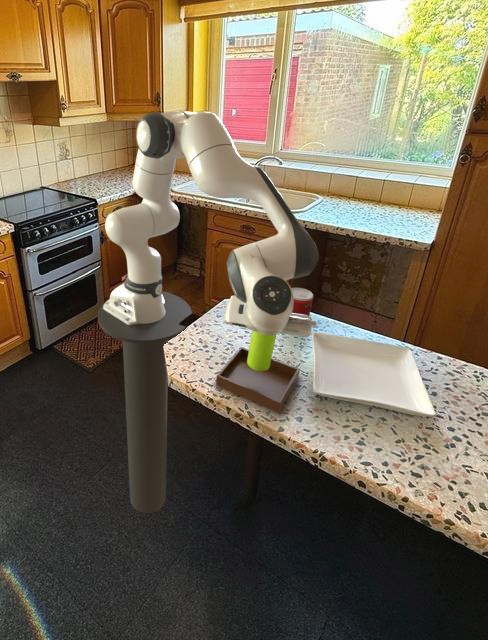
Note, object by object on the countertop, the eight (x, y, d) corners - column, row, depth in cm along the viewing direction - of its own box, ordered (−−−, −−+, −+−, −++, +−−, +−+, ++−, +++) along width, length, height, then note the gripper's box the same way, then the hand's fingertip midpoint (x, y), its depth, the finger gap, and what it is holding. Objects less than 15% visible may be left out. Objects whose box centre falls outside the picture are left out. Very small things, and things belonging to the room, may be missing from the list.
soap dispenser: (267, 376, 101) (282, 309, 92) (243, 364, 104) (254, 298, 95) (277, 364, 105) (291, 299, 96) (252, 353, 108) (264, 289, 99)
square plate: (309, 340, 124) (311, 330, 122) (407, 357, 117) (411, 346, 115) (310, 401, 101) (313, 389, 99) (433, 427, 93) (438, 415, 92)
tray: (215, 385, 106) (216, 375, 105) (239, 355, 117) (240, 346, 116) (278, 413, 97) (280, 403, 96) (298, 378, 108) (300, 369, 107)
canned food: (305, 330, 129) (310, 301, 124) (280, 323, 132) (285, 295, 127) (309, 319, 135) (315, 291, 130) (286, 313, 138) (290, 285, 133)
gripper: (319, 308, 86) (309, 322, 98) (224, 294, 91) (227, 309, 104) (316, 336, 84) (307, 347, 97) (219, 320, 89) (223, 332, 102)
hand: (265, 327), depth 100 cm, fingers closed on soap dispenser, 6 cm apart
